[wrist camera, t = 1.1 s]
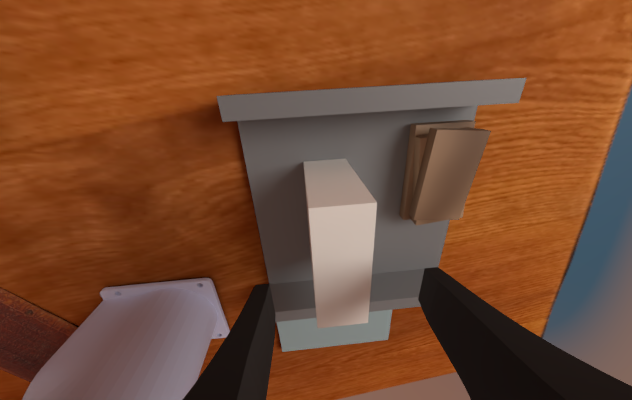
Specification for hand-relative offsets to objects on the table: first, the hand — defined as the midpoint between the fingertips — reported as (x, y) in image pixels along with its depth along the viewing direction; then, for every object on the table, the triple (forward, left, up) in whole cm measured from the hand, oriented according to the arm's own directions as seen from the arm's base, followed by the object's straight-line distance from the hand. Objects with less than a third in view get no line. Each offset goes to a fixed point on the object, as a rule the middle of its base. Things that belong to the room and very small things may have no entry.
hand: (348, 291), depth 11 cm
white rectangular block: (0, 0, -8) cm, 8 cm away
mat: (0, -14, -9) cm, 16 cm away
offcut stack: (+8, +2, -8) cm, 12 cm away
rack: (+2, 0, -9) cm, 9 cm away
